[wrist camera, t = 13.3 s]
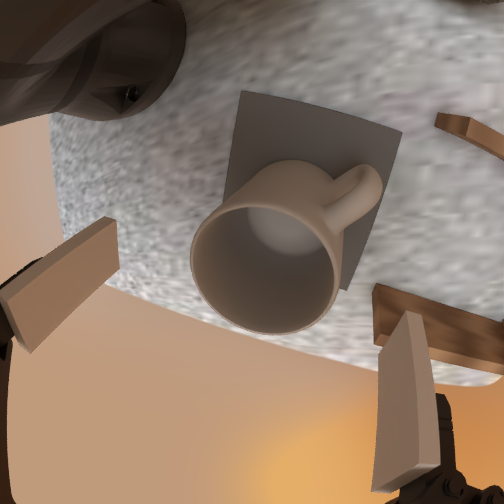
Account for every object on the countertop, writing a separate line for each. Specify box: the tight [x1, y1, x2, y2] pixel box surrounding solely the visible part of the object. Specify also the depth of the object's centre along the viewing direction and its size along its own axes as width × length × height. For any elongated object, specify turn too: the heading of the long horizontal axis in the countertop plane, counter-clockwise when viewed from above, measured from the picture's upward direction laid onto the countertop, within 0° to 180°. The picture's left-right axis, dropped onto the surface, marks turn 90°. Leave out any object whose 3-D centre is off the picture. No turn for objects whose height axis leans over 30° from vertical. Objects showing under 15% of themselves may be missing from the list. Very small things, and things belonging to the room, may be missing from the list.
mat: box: [223, 91, 402, 291], centre depth 25 cm, size 13×15×1 cm
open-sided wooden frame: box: [372, 112, 504, 375], centre depth 19 cm, size 18×17×7 cm
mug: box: [190, 160, 383, 335], centre depth 20 cm, size 12×8×11 cm
